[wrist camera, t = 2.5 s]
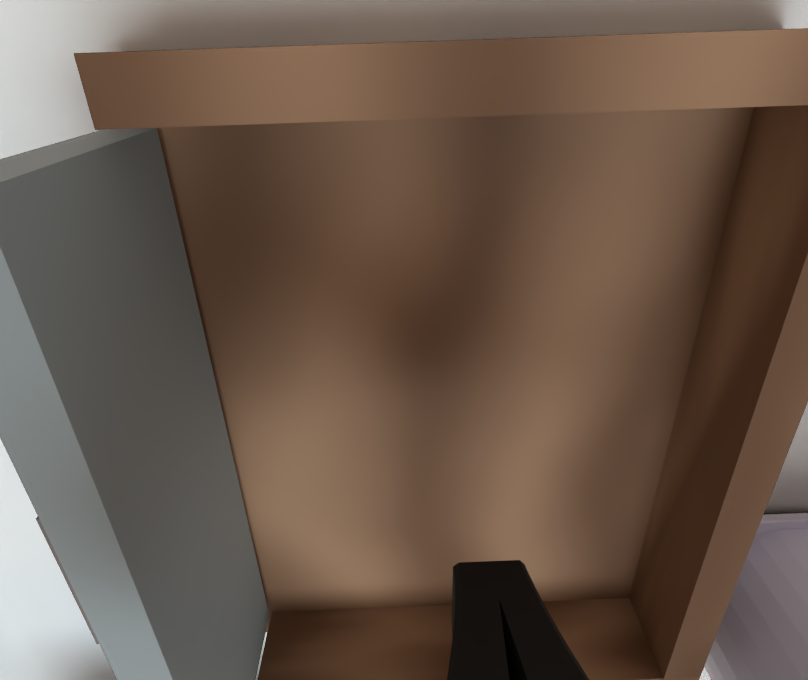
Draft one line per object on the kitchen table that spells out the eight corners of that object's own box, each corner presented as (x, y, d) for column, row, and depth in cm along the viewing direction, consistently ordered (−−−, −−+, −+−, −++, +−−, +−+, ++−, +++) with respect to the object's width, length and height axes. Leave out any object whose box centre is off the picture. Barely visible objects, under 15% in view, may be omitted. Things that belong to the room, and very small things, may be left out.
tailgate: (156, 127, 12) (-23, 189, 7) (269, 613, 20) (226, 813, 15) (67, 131, 12) (-182, 195, 7) (215, 615, 20) (153, 816, 15)
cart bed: (784, 30, 13) (955, 23, 9) (639, 583, 23) (691, 697, 19) (119, 52, 13) (1, 55, 9) (254, 598, 23) (224, 716, 19)
